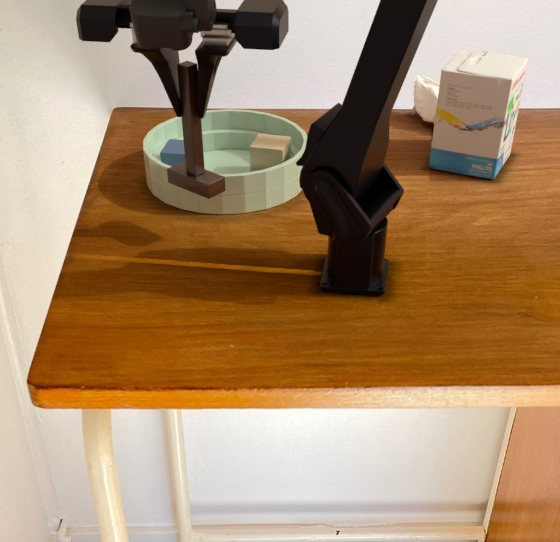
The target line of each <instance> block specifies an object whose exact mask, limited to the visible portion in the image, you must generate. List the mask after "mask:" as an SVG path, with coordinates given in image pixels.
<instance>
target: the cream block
mask: <svg viewBox="0 0 560 542" xmlns="http://www.w3.org/2000/svg"><path fill="white" fill-rule="evenodd" d="M289 159H291V137H289V136H279V135H269V134H258V135H257V136H256V138H255V139H254V141H253V142H252V144H251V145H250V172H253V171H259V170H264V169H267V168H270V167H273V166H276V165H279V164H282V163H283V162H285V161H287V160H289Z"/></svg>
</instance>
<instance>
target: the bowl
mask: <svg viewBox="0 0 560 542" xmlns="http://www.w3.org/2000/svg"><path fill="white" fill-rule="evenodd" d="M201 125H202V139H203V153H204V168H205V170H208V171H211V172H213V173H216V174H219V175H221V176H224V177H225V189H226V191H224V192H222V193H220V194H218V195H216V196H214V197H212V198H210V199H208V198H205V197H203V196H200V195H198V194H195V193H193V192H190V191H188V190H185V189H183V188H180V187H178V186H175V185H173V184H170V183H168V176H167V169H168V168H170V167H172V166H169V165H166V164H164V163H163V162H161V158H160V152H161V150H162V149H163V148H164V146H165V145H166V143H167V142H168V140H169V139H178V140H183V129H182V117H177V116H174V117H172V118H170V119H168V120H167V119H166V120H165V121H163V122H161V123H158V124H157V125H156V126H153V128H152V129H150V130H149V131H148V132H147V134H146V135H145V136H144V138H143V140H142V153H143V161H144V168H145V179H146V186H147V188H148V189H149V191H150V192H151V194H152V196H153V197H155V198H156V199H158V200H160V201H161V202H163V203H164V204H166V205H169V206H171V207H174V208H177V209H180V210H184V211H187V212H192V213H193V212H194V213H198V214H208V215H209V214H210V215H239V214H248V213H253V212H259V211H265V210H268V209H271V208H275V207H277V206H281V205H283V204H285V203H287V202H289V201H291V200H292V199H294V198H295V197H298V195H299V194H300V193H301V192H303V190H302V189H301V188H300V183H299V177H300V172H301V169H302V167H303V166H297V165H296V162H297V161H298V160H299V159H300V158H301V157H302V155H303V153H304V151H305V147H306V142H307V136H308V134H307V132H306V131H305V130H304V129H303V128H302V127H301V126H299V125H298V123H296V122H293V120H290V119H288V118H286V117H283V116H279V115H277V114H273V113H269V112H265V111H264V112H263V111H259V110H251V109H238V108H237V109H236V108H235V109H234V108H226V109H207V110H206V114H205V116H204V118H203V119H201ZM258 134H269V135H279V136H289V137H291V159H289V160H287V161H285V162H283V163H282V164H279V165H276V166H273V167H270V168H267V169H264V170H259V171H253V172H250V145H251V144H252V142H253V141H254V139H255V138H256V136H257V135H258Z"/></svg>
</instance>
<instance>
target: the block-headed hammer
mask: <svg viewBox="0 0 560 542" xmlns="http://www.w3.org/2000/svg"><path fill="white" fill-rule="evenodd" d="M177 70H178V82H179V94H180V105H181V117H182V129H183V140H184V152H185V162H184V161H183V162H181V163H179V164H176V165H174V166H172V167H170V168H168V169H167V176H168V183H170V184H173V185H175V186H178V187H180V188H183V189H185V190H188V191H190V192H193V193H195V194H198V195H200V196H203V197H205V198H208V199H210V198H212V197H214V196H216V195H218V194H220V193H222V192H224V191H226V189H225V177H224V176H221V175H219V174H216V173H213V172H211V171H208V170H205V168H204V153H203V139H202V125H201V118H199V113H198V105H197V91H198V63H197V62H192V61H190V60H185V61H182V62H180V63H179V64H177Z"/></svg>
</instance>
